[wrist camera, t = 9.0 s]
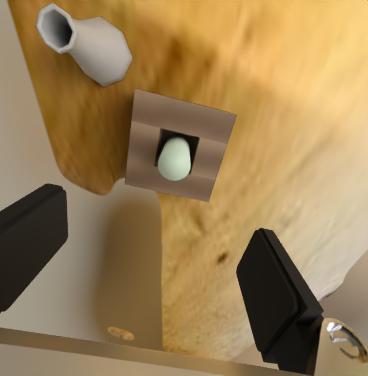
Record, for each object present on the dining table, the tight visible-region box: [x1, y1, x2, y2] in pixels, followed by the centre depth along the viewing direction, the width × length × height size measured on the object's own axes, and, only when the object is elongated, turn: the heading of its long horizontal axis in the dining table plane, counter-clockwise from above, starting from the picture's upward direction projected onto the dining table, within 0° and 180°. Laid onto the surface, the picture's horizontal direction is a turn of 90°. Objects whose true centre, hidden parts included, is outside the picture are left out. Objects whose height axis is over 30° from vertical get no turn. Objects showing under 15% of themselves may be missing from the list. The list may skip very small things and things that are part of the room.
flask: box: [36, 3, 133, 87], centre depth 20 cm, size 7×7×10 cm
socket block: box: [125, 89, 237, 202], centre depth 27 cm, size 12×12×6 cm
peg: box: [158, 133, 191, 181], centre depth 24 cm, size 3×3×10 cm
